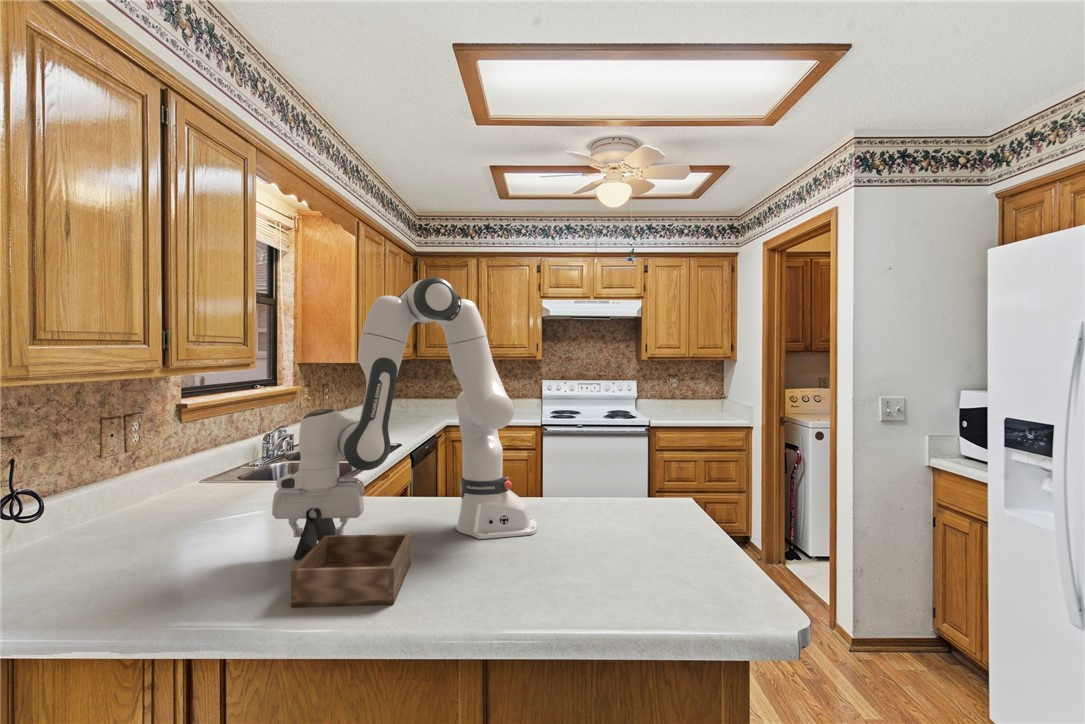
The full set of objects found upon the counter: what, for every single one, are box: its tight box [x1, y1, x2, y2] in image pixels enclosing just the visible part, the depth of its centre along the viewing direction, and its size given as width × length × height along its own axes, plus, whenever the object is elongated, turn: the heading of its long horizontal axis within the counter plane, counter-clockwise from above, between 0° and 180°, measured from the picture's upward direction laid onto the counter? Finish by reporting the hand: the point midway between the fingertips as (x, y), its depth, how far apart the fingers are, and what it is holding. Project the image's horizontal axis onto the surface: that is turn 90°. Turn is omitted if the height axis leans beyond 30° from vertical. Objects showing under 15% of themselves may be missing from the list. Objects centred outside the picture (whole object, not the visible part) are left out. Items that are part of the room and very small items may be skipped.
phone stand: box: [293, 508, 337, 561], centre depth 122 cm, size 9×6×12 cm, turn 81°
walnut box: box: [290, 533, 412, 608], centre depth 108 cm, size 19×19×7 cm
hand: (318, 536), depth 123 cm, fingers open, 8 cm apart
